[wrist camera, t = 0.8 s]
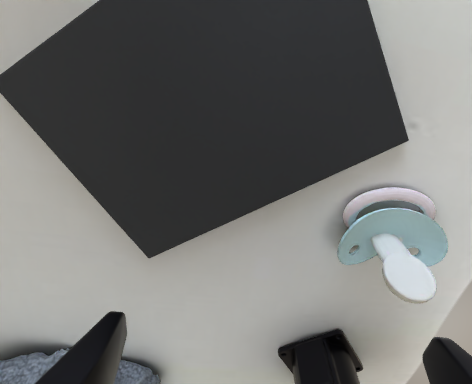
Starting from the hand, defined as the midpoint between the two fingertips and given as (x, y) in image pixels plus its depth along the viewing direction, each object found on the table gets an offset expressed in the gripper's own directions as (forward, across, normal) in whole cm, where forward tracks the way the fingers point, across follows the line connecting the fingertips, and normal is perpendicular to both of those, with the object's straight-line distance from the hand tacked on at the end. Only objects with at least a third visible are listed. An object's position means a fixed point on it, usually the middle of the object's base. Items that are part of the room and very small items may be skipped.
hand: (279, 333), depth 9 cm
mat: (+13, +4, -3) cm, 14 cm away
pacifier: (+13, -10, +4) cm, 17 cm away
